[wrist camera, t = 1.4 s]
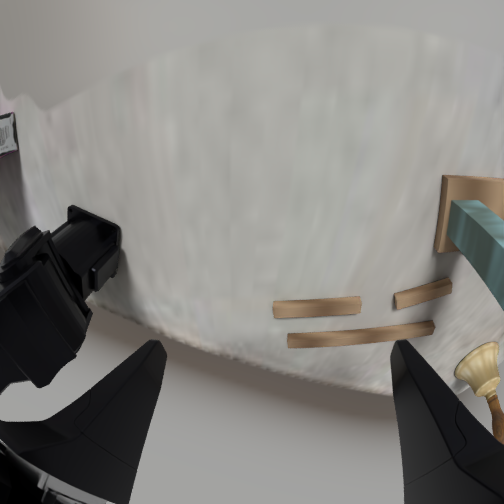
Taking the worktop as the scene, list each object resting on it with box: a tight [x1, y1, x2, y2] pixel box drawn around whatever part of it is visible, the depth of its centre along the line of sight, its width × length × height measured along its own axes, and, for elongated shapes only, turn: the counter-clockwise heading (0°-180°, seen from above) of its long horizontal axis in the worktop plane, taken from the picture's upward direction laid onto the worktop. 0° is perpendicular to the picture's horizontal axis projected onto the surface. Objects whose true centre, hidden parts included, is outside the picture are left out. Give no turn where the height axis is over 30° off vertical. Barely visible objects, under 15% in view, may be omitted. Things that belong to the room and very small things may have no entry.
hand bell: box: [455, 342, 504, 444], centre depth 20 cm, size 8×8×16 cm
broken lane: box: [273, 277, 452, 348], centre depth 24 cm, size 18×7×1 cm, turn 99°
